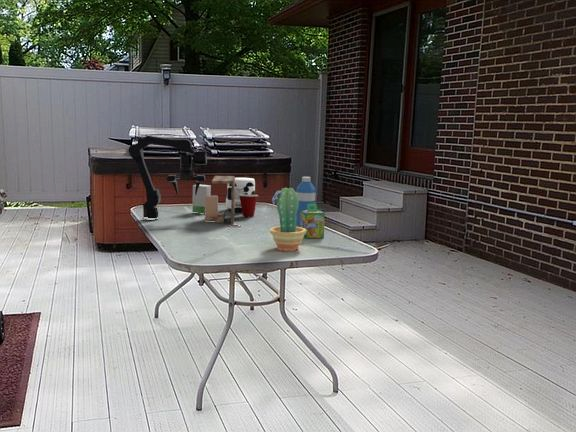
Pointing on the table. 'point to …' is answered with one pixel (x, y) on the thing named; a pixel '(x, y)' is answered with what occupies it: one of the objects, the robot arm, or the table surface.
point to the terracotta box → (211, 206)
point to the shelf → (231, 181)
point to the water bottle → (305, 196)
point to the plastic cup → (248, 204)
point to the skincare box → (200, 198)
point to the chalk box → (312, 222)
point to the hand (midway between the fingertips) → (186, 195)
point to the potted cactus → (287, 220)
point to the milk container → (240, 191)
